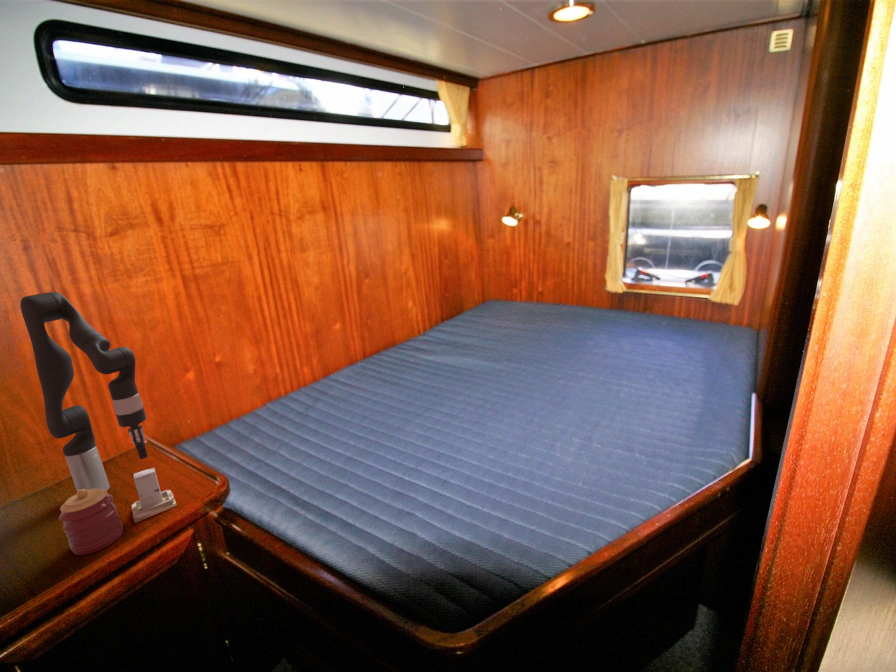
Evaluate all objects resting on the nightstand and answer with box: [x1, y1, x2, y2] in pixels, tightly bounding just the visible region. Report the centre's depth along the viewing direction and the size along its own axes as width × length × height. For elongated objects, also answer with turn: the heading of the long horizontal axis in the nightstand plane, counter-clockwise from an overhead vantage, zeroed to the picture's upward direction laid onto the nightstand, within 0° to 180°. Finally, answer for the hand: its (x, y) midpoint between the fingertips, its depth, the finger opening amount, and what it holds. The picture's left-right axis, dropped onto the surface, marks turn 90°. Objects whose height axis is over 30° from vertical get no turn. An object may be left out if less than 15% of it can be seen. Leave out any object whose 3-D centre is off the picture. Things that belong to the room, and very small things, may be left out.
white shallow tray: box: [131, 489, 178, 524], centre depth 153 cm, size 10×12×2 cm
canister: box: [58, 489, 124, 556], centre depth 136 cm, size 13×13×18 cm
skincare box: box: [133, 467, 163, 510], centre depth 151 cm, size 6×4×12 cm
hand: (143, 457), depth 150 cm, fingers closed
